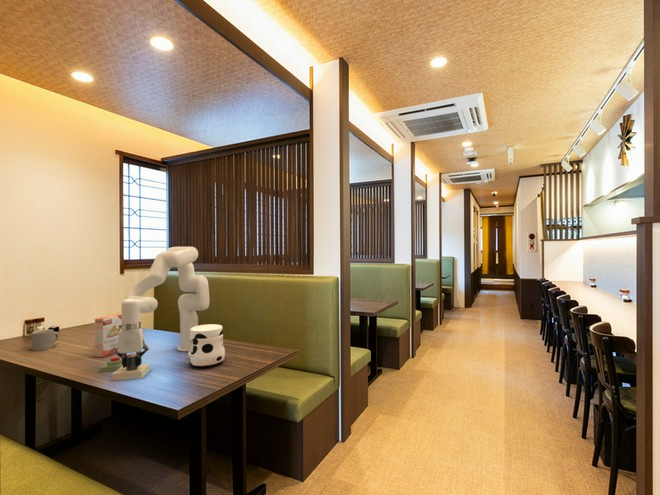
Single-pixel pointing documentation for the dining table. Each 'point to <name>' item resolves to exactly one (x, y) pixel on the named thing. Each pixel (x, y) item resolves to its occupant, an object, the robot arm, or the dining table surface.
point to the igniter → (111, 365)
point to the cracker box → (107, 334)
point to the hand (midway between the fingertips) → (131, 366)
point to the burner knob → (131, 362)
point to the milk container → (206, 345)
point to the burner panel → (131, 373)
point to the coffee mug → (43, 339)
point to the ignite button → (114, 358)
